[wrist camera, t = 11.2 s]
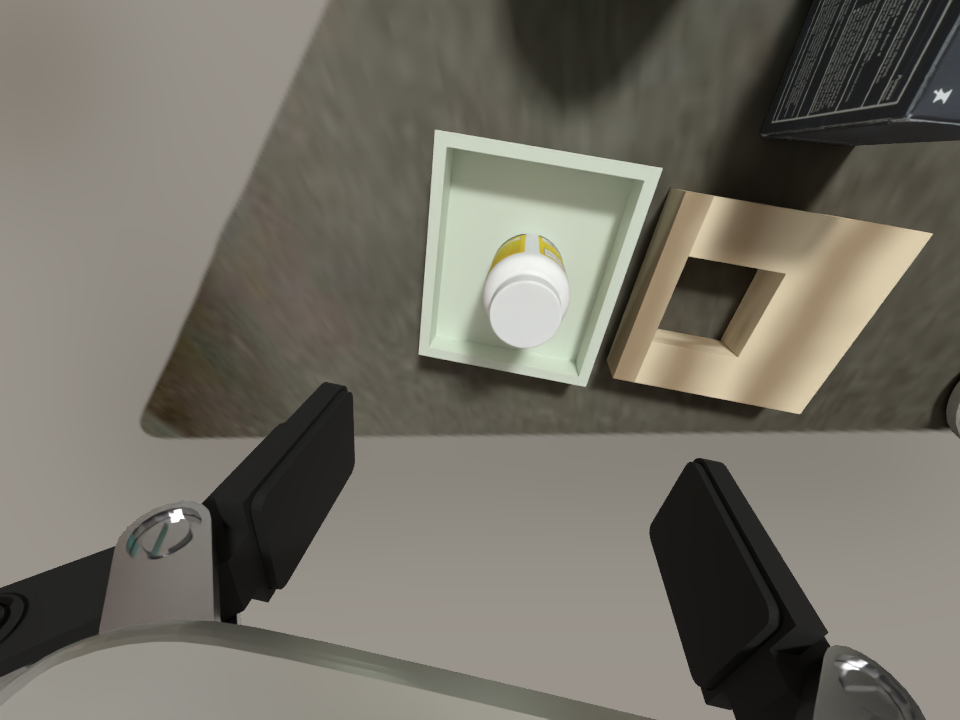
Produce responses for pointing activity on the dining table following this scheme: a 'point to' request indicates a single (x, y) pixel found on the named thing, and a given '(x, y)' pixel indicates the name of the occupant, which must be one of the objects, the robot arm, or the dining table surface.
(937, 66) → the small box
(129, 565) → the robot arm
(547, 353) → the tray
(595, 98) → the dining table surface
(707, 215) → the beige flat square frame
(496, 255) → the supplement bottle
